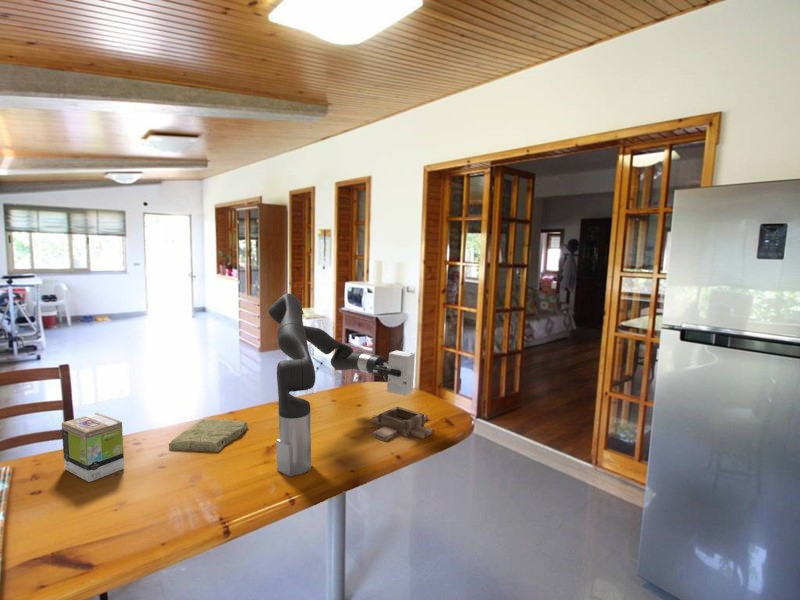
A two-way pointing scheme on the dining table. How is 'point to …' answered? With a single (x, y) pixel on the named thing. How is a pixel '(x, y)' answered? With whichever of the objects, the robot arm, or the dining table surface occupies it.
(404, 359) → the skincare box
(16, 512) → the dining table surface
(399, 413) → the cross stand
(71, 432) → the tea box
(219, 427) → the decorative tile
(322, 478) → the dining table surface
